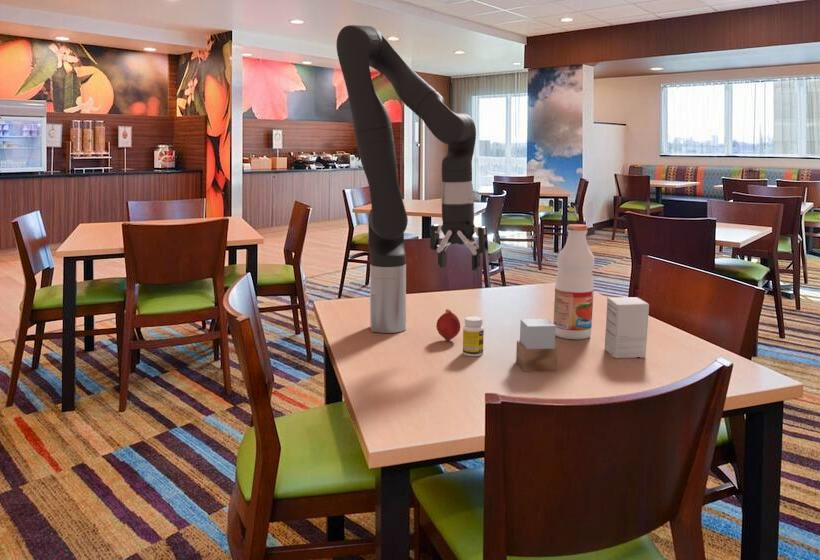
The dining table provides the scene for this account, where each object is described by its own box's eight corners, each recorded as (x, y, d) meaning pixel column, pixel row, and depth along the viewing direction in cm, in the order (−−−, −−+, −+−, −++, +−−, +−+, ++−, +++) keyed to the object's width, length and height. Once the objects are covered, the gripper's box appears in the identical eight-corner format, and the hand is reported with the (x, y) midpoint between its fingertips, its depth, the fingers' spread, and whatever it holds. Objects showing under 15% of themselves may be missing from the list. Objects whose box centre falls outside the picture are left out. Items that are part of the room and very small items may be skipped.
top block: (526, 349, 141) (527, 326, 140) (519, 341, 147) (520, 319, 146) (554, 348, 142) (555, 325, 141) (546, 340, 148) (547, 318, 147)
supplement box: (634, 348, 158) (638, 296, 156) (646, 358, 151) (650, 303, 149) (603, 348, 158) (606, 296, 156) (613, 358, 151) (617, 304, 148)
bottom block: (524, 372, 142) (525, 350, 141) (516, 362, 149) (516, 340, 148) (556, 371, 142) (557, 349, 142) (546, 361, 149) (547, 339, 148)
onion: (445, 336, 168) (446, 305, 167) (464, 340, 165) (465, 308, 163) (431, 341, 164) (432, 309, 162) (450, 345, 160) (451, 313, 159)
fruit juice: (558, 328, 176) (563, 222, 170) (595, 333, 171) (601, 224, 166) (548, 337, 168) (553, 225, 162) (585, 342, 163) (592, 228, 158)
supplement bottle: (482, 357, 151) (482, 321, 150) (461, 356, 152) (462, 320, 151) (484, 351, 156) (484, 316, 154) (463, 350, 157) (464, 315, 155)
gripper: (423, 202, 157) (425, 269, 160) (478, 203, 149) (479, 274, 153) (438, 198, 163) (440, 263, 166) (492, 199, 156) (493, 267, 159)
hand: (459, 268), depth 160 cm, fingers open, 8 cm apart
